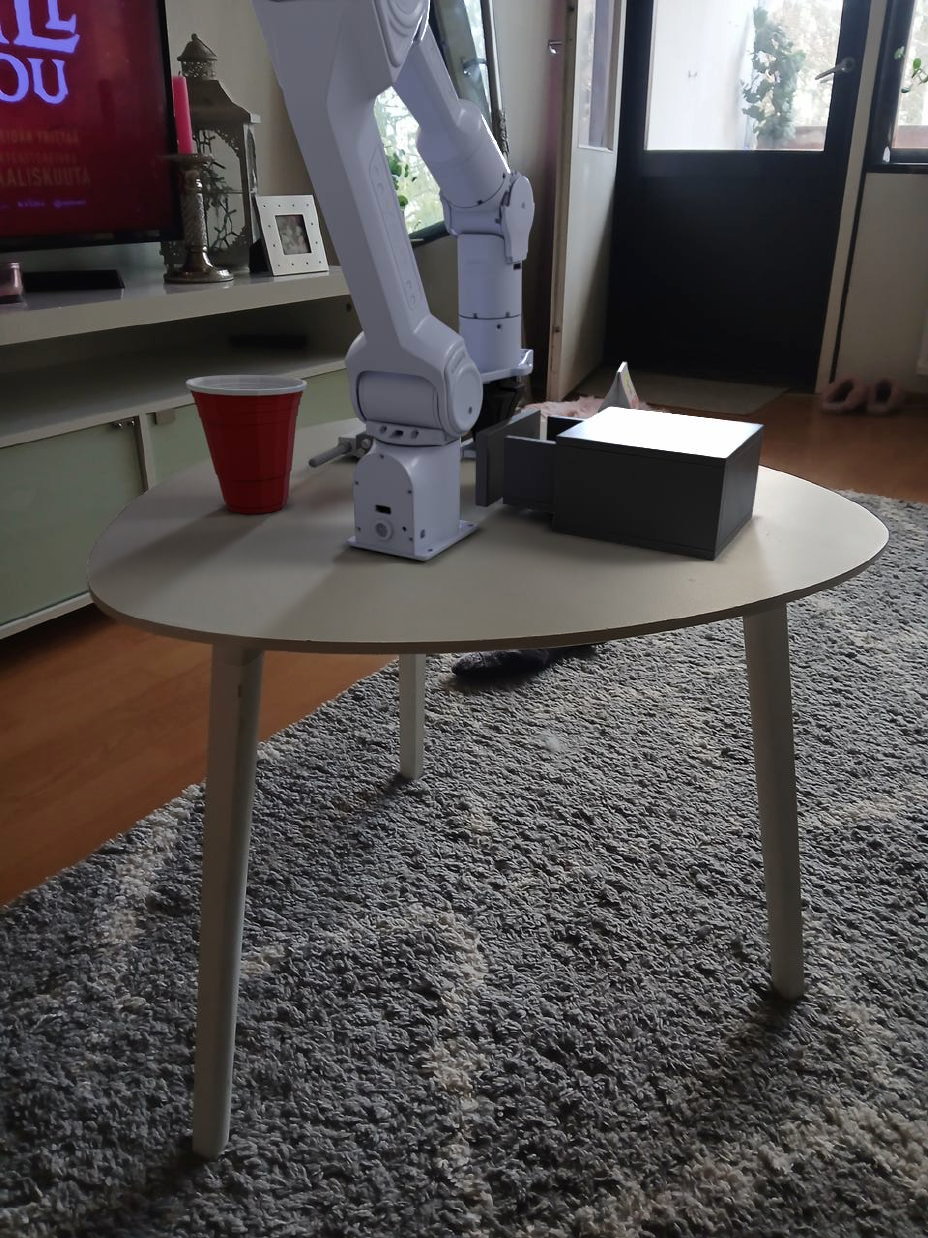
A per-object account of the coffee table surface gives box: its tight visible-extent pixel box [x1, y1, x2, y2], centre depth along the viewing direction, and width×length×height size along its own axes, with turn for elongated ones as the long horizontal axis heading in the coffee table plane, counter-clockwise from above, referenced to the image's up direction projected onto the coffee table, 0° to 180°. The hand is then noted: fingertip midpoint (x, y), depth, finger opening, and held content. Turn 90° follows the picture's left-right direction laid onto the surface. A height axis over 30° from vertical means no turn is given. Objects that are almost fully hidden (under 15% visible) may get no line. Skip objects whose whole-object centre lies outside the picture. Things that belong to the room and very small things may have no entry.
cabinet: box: [551, 407, 765, 561], centre depth 86 cm, size 15×13×9 cm
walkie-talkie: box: [307, 427, 374, 469], centre depth 107 cm, size 9×4×20 cm
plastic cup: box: [185, 374, 308, 515], centre depth 90 cm, size 11×11×12 cm
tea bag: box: [597, 361, 639, 414], centre depth 105 cm, size 4×7×10 cm, turn 165°
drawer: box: [460, 408, 588, 514], centre depth 90 cm, size 18×11×7 cm, turn 61°
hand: (490, 458), depth 94 cm, fingers closed, pressing on drawer
